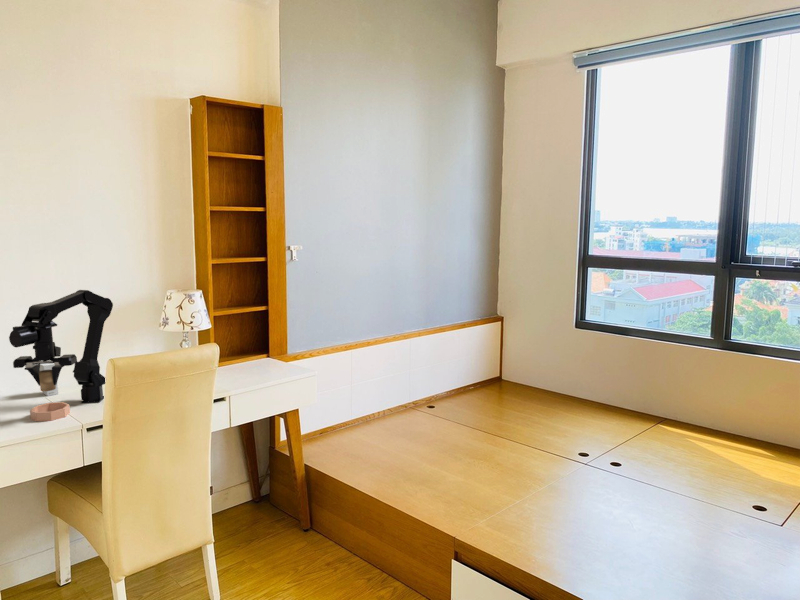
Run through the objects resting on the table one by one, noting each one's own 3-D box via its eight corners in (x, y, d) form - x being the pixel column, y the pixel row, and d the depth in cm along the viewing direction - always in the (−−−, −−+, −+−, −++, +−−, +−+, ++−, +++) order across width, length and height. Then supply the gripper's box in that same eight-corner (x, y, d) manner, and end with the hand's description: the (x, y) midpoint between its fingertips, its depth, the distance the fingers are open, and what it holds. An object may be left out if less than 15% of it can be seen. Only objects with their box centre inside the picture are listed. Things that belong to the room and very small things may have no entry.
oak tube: (57, 387, 222) (56, 368, 221) (52, 390, 217) (50, 372, 216) (43, 387, 221) (42, 369, 220) (38, 391, 217) (36, 372, 216)
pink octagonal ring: (73, 409, 227) (72, 401, 226) (61, 420, 216) (60, 411, 216) (40, 411, 225) (39, 403, 225) (26, 421, 214) (25, 413, 214)
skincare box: (59, 393, 246) (56, 363, 244) (46, 396, 243) (43, 366, 241) (53, 390, 250) (50, 361, 249) (41, 393, 247) (38, 363, 245)
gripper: (80, 335, 226) (84, 377, 228) (24, 337, 223) (29, 379, 226) (68, 342, 215) (72, 386, 217) (10, 344, 212) (15, 388, 215)
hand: (47, 385), depth 219 cm, fingers closed on oak tube, 5 cm apart
